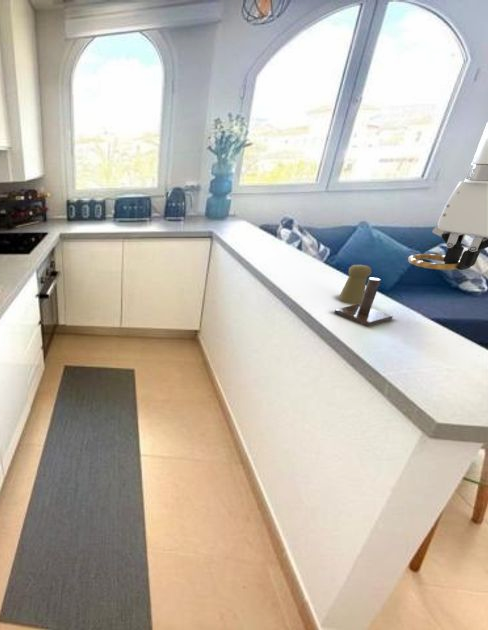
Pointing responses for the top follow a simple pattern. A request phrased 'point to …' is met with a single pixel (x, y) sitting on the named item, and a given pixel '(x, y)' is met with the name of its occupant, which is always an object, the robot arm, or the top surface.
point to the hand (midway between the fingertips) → (456, 266)
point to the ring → (415, 261)
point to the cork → (355, 284)
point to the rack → (365, 307)
